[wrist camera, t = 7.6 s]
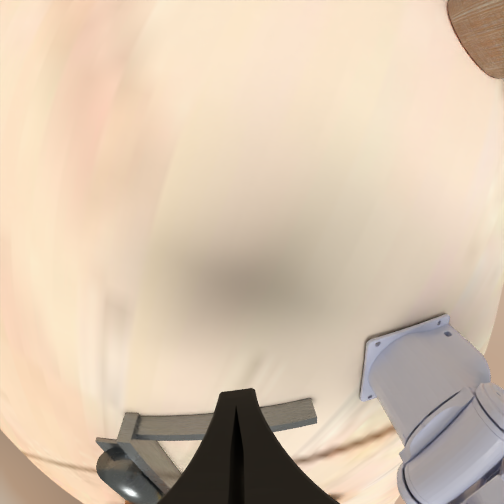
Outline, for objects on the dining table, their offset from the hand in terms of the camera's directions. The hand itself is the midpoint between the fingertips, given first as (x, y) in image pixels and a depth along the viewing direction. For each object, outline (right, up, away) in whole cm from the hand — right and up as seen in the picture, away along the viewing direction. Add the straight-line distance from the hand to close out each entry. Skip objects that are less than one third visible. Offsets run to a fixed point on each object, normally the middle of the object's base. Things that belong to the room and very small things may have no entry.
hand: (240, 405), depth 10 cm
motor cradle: (-5, -21, +17) cm, 27 cm away
